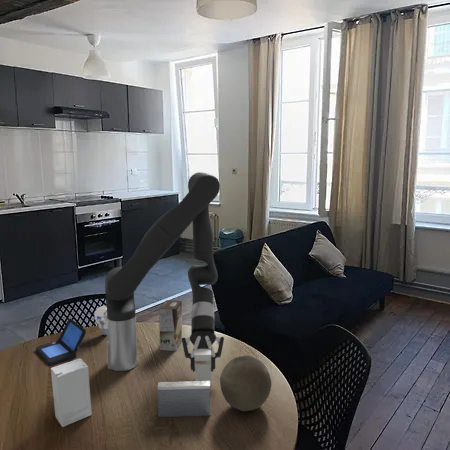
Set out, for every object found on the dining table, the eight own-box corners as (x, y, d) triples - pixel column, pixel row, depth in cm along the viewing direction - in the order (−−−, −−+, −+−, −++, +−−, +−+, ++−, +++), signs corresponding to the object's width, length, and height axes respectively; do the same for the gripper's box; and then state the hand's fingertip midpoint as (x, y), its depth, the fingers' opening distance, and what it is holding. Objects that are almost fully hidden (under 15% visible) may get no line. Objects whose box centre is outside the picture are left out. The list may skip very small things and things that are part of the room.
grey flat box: (158, 417, 110) (157, 387, 108) (159, 411, 112) (158, 382, 111) (210, 415, 110) (210, 385, 109) (210, 410, 113) (210, 380, 111)
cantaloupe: (221, 394, 120) (221, 346, 118) (269, 395, 120) (269, 347, 118) (218, 425, 107) (218, 371, 104) (273, 426, 106) (274, 372, 104)
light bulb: (117, 333, 163) (116, 304, 161) (105, 340, 156) (104, 310, 154) (103, 330, 165) (102, 302, 164) (91, 337, 159) (90, 307, 157)
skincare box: (84, 406, 115) (81, 356, 112) (92, 416, 110) (89, 365, 108) (53, 417, 109) (49, 366, 107) (60, 429, 105) (57, 375, 103)
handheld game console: (34, 350, 148) (33, 326, 147) (71, 340, 157) (69, 317, 156) (50, 366, 137) (48, 341, 135) (88, 354, 146) (87, 329, 144)
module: (194, 385, 125) (194, 355, 124) (195, 378, 129) (194, 349, 128) (211, 385, 125) (211, 354, 124) (211, 378, 129) (210, 348, 128)
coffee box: (176, 351, 147) (175, 309, 145) (159, 350, 148) (158, 308, 146) (182, 340, 156) (181, 300, 154) (166, 339, 157) (165, 299, 155)
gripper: (180, 314, 131) (178, 368, 121) (224, 313, 132) (226, 366, 122) (181, 323, 137) (180, 375, 127) (224, 322, 138) (225, 374, 128)
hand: (203, 370), depth 125 cm, fingers closed on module, 5 cm apart
